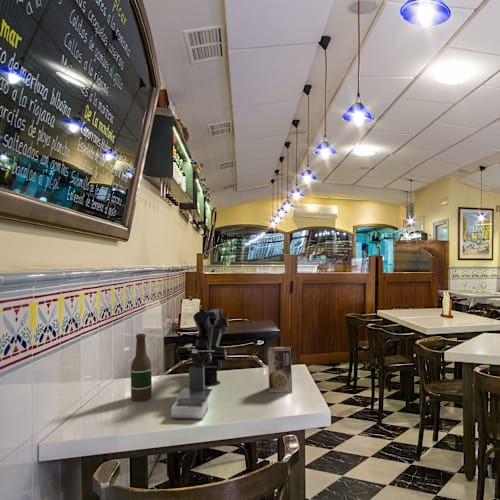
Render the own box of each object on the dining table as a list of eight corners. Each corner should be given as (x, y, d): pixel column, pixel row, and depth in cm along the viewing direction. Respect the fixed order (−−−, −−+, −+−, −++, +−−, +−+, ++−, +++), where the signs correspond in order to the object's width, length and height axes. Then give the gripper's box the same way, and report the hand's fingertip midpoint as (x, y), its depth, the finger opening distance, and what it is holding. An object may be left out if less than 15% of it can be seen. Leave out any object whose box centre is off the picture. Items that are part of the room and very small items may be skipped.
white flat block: (179, 408, 129) (179, 397, 129) (208, 409, 128) (207, 397, 128) (171, 419, 120) (171, 407, 120) (202, 420, 119) (201, 407, 119)
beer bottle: (146, 402, 136) (145, 336, 137) (126, 401, 137) (126, 336, 138) (155, 395, 143) (154, 332, 144) (137, 394, 145) (136, 332, 146)
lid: (183, 390, 135) (183, 366, 136) (212, 390, 134) (211, 366, 135) (175, 399, 126) (175, 374, 126) (206, 400, 125) (206, 374, 125)
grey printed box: (292, 387, 149) (291, 346, 149) (292, 392, 142) (291, 350, 143) (269, 386, 150) (268, 346, 150) (268, 392, 143) (267, 350, 144)
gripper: (230, 349, 152) (226, 385, 141) (185, 349, 154) (178, 384, 143) (226, 333, 145) (222, 369, 134) (179, 333, 147) (171, 369, 135)
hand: (198, 374), depth 137 cm, fingers closed
